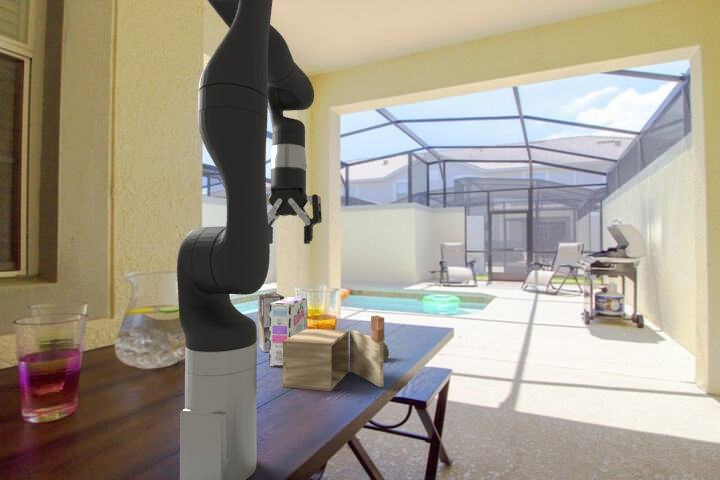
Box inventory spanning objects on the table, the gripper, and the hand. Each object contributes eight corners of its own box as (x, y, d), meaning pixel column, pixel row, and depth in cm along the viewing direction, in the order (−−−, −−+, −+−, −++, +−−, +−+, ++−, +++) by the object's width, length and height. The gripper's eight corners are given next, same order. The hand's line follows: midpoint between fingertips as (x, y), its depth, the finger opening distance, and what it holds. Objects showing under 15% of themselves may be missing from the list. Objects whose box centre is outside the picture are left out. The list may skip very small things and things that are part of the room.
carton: (330, 391, 86) (330, 343, 86) (282, 386, 88) (282, 340, 89) (348, 371, 99) (348, 330, 100) (306, 368, 102) (306, 328, 102)
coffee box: (285, 350, 120) (285, 296, 121) (263, 352, 118) (263, 297, 118) (277, 343, 129) (277, 293, 129) (257, 346, 126) (257, 294, 126)
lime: (388, 358, 112) (388, 339, 112) (388, 362, 107) (388, 343, 107) (372, 357, 112) (372, 339, 112) (371, 362, 107) (371, 343, 107)
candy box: (290, 368, 102) (290, 303, 103) (268, 367, 104) (268, 302, 104) (307, 354, 116) (307, 296, 116) (288, 353, 117) (288, 296, 117)
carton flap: (385, 386, 87) (384, 317, 88) (378, 387, 87) (378, 318, 87) (354, 369, 100) (354, 309, 100) (348, 370, 99) (348, 309, 99)
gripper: (250, 166, 85) (249, 243, 85) (315, 163, 82) (315, 243, 82) (264, 173, 92) (264, 244, 92) (325, 171, 90) (324, 244, 89)
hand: (288, 243), depth 87 cm, fingers open, 8 cm apart
